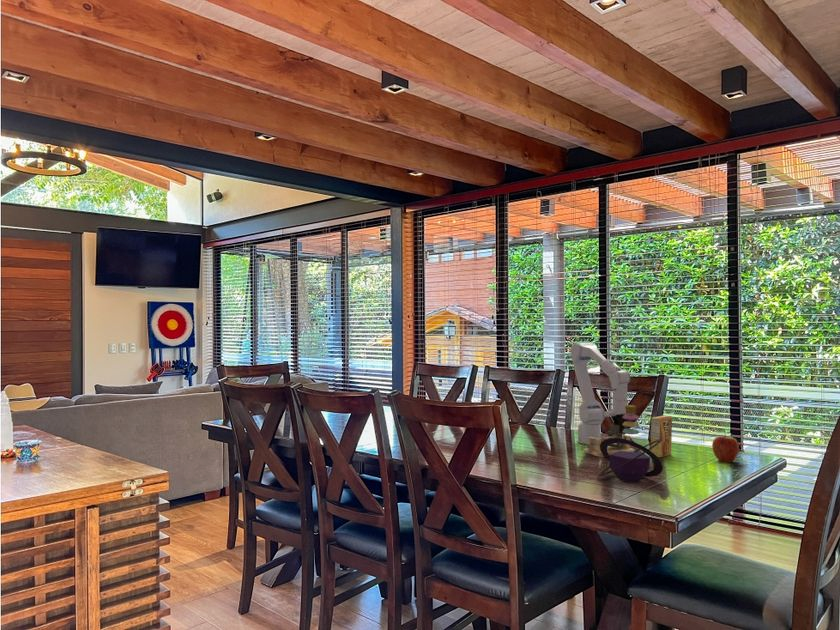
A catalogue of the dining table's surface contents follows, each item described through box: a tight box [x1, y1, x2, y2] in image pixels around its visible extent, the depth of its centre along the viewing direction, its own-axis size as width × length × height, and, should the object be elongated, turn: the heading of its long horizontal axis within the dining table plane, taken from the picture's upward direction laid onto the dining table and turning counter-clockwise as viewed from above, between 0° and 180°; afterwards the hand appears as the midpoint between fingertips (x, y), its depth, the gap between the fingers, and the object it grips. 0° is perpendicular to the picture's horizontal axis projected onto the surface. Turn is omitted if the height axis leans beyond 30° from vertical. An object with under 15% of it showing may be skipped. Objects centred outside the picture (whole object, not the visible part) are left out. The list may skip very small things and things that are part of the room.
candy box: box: [650, 415, 673, 458], centre depth 247 cm, size 9×4×15 cm, turn 129°
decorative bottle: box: [598, 404, 664, 484], centre depth 207 cm, size 22×21×25 cm
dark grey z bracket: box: [606, 423, 623, 449], centre depth 253 cm, size 6×2×9 cm, turn 28°
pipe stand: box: [583, 433, 636, 458], centre depth 251 cm, size 10×18×7 cm, turn 118°
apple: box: [711, 434, 740, 463], centre depth 238 cm, size 9×9×10 cm
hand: (619, 433), depth 254 cm, fingers closed
